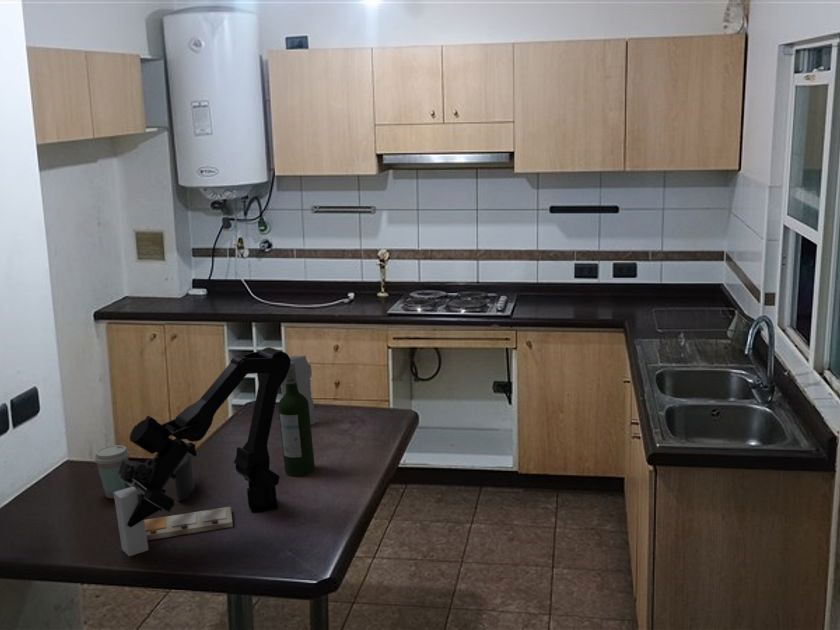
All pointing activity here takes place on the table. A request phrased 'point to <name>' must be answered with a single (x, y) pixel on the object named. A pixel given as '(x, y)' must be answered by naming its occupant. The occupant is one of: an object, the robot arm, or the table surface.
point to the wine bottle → (295, 429)
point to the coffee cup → (111, 468)
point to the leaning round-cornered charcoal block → (184, 478)
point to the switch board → (188, 523)
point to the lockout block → (125, 506)
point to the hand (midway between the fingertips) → (125, 522)
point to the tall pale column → (302, 382)
